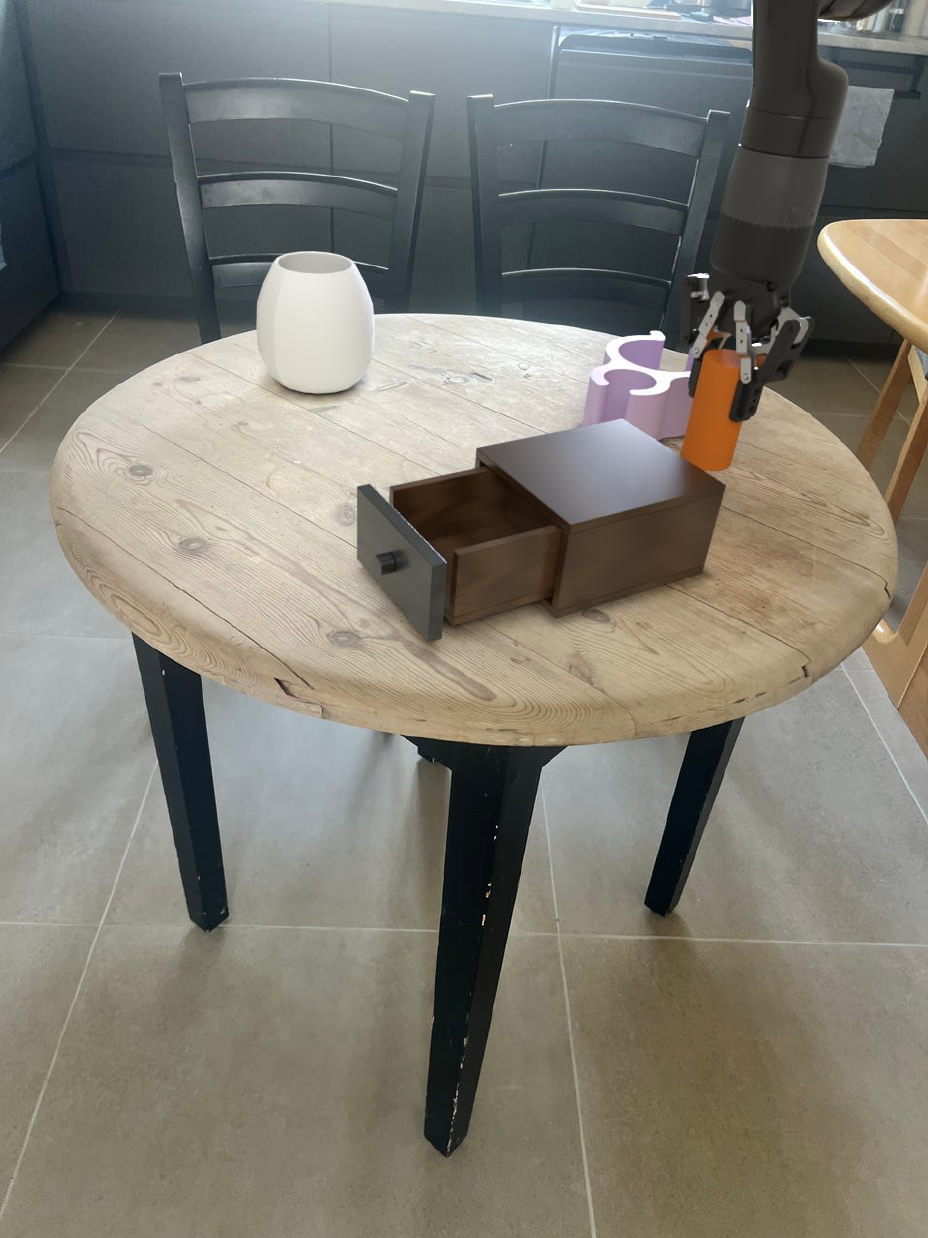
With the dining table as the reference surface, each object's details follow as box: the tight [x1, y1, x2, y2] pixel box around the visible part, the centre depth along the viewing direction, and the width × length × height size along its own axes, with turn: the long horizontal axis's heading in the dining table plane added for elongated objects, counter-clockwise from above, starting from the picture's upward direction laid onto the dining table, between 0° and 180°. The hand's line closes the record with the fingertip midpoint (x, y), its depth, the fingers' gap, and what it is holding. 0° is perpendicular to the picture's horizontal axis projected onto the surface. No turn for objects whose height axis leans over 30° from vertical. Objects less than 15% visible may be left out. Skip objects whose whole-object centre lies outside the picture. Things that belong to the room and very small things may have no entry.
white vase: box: [256, 250, 376, 394], centre depth 102 cm, size 13×13×14 cm
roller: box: [679, 348, 757, 472], centre depth 84 cm, size 5×5×10 cm
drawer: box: [356, 466, 564, 643], centre depth 72 cm, size 16×12×7 cm
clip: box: [581, 330, 694, 442], centre depth 101 cm, size 20×12×7 cm, turn 149°
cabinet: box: [474, 419, 727, 619], centre depth 77 cm, size 16×14×9 cm
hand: (718, 407), depth 83 cm, fingers closed on roller, 4 cm apart
